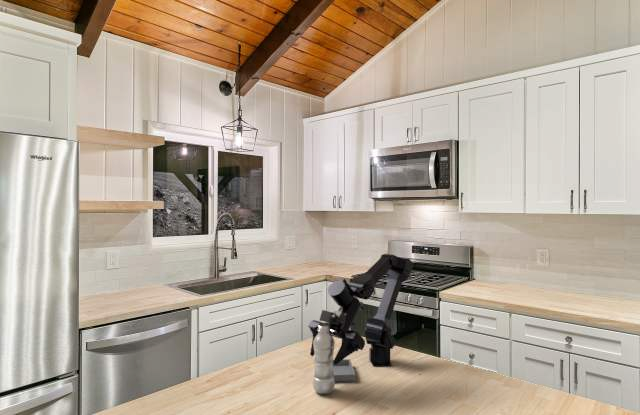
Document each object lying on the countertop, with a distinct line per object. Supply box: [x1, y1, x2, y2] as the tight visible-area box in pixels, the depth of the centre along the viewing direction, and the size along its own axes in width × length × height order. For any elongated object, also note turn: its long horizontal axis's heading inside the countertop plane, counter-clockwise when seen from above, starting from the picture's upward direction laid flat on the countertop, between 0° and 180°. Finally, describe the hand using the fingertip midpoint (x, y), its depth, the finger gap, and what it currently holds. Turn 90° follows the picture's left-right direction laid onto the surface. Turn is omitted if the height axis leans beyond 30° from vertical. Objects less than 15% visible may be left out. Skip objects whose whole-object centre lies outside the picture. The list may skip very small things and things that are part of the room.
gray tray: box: [333, 358, 357, 383], centre depth 133 cm, size 12×12×2 cm
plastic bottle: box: [312, 322, 336, 395], centre depth 121 cm, size 6×7×20 cm
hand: (322, 359), depth 120 cm, fingers open, 9 cm apart
